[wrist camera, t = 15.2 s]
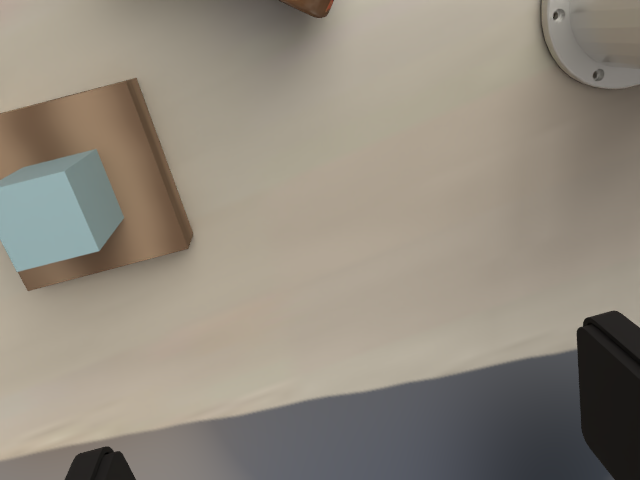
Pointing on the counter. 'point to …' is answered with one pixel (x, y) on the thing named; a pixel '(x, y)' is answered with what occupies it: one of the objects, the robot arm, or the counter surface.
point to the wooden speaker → (311, 6)
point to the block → (57, 210)
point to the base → (120, 166)
